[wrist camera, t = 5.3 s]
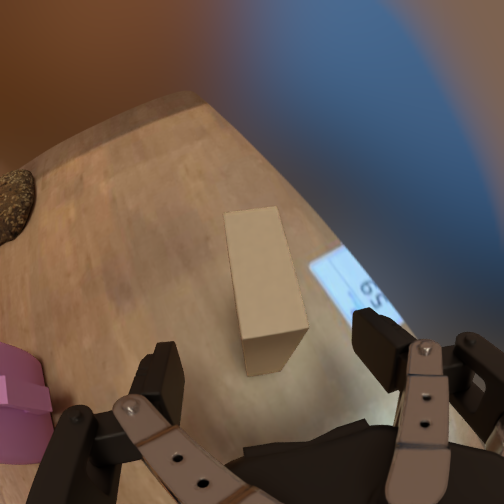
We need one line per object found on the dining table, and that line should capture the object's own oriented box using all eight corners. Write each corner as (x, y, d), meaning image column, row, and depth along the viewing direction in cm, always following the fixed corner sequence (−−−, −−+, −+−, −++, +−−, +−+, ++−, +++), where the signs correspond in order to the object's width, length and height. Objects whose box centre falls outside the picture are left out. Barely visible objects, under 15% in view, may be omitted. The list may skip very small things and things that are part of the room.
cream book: (266, 300, 22) (276, 205, 12) (280, 371, 19) (310, 327, 10) (235, 305, 22) (222, 212, 12) (247, 377, 19) (241, 339, 9)
